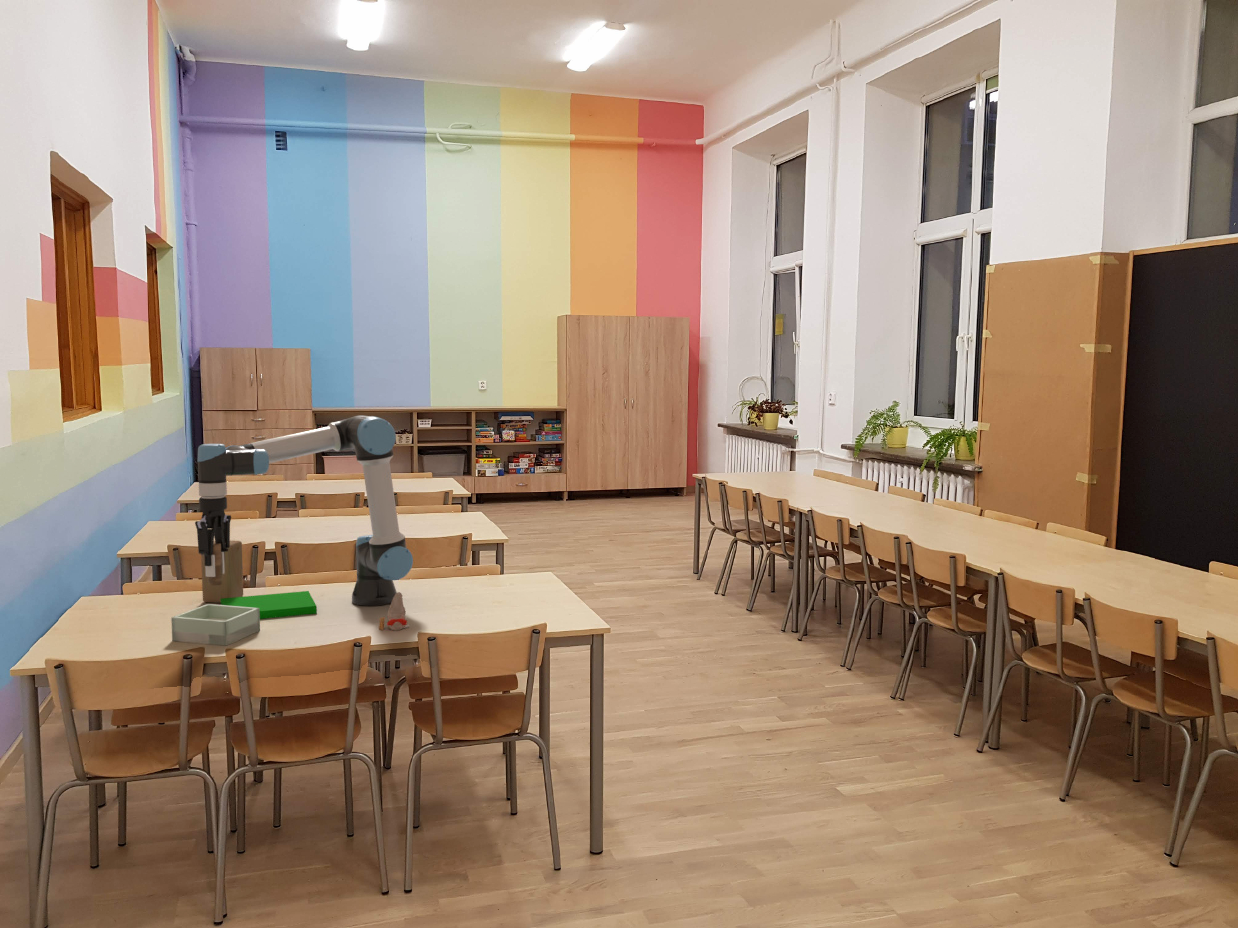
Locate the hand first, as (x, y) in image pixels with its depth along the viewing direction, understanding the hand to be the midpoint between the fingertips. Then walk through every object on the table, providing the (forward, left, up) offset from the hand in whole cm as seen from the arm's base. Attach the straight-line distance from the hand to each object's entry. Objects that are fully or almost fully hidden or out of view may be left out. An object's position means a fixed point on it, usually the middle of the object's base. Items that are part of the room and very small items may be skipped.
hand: (215, 574), depth 271 cm
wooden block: (+25, -37, -19) cm, 48 cm away
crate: (0, 0, -18) cm, 18 cm away
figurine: (-47, -21, -19) cm, 55 cm away
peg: (0, 0, -3) cm, 3 cm away
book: (+3, -30, -19) cm, 36 cm away
